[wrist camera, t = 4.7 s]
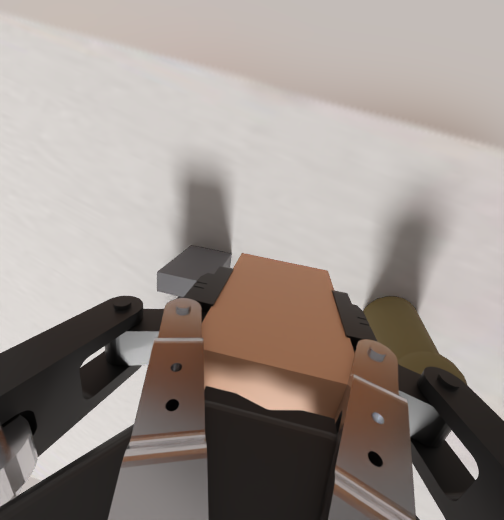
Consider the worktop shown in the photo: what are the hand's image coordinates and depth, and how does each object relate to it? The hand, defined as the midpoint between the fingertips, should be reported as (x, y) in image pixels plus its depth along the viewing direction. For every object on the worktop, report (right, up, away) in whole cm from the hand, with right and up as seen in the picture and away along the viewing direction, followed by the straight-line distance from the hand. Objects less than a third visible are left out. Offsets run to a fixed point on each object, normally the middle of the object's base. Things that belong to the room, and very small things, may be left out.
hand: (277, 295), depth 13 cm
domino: (-6, +2, +17) cm, 19 cm away
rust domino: (0, +1, +2) cm, 2 cm away
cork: (+15, -5, +17) cm, 23 cm away
